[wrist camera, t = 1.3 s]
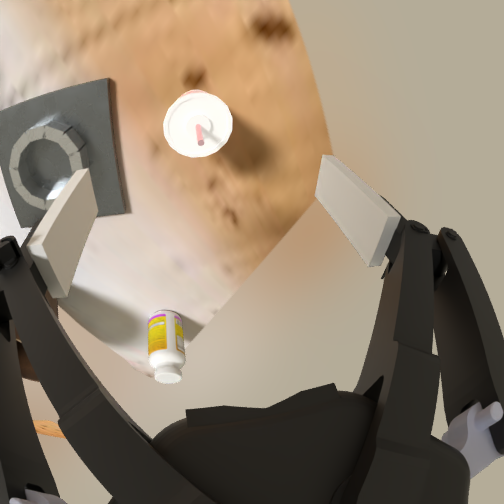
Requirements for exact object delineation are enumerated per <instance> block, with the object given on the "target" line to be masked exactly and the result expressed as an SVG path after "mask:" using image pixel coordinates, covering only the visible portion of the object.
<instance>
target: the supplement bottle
mask: <svg viewBox="0 0 504 504" xmlns="http://www.w3.org/2000/svg"><path fill="white" fill-rule="evenodd" d="M148 352H149V363H150V365H151V366H152V367H153V368H154V369H156V370H155V379H156V380H157V381H158V382H161V383H166V384H171V383H177V382H179V381H181V379H182V372H181V370H180V369H181V368H182V367H183V366H184V364H185V361H186V359H185V349H184V339H183V327H182V320H181V318H180V316H179V315H178V314H176V313H174V312H172V311H166V310H162V311H157V312H155V313H153V314H152V315H151V316H150V317H149V321H148Z"/></svg>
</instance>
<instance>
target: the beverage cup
mask: <svg viewBox="0 0 504 504" xmlns="http://www.w3.org/2000/svg"><path fill="white" fill-rule="evenodd" d="M163 124H164V136H165V138H166V140H167V141H168V143H169V145H170V147H172V148H173V149H174V150H176V151H177V152H178V153H179V154H182V155H185V156H189V157H192V158H193V157H205V156H208V155H210V154H212V153H214V152H217V151H218V150H219V149H220V148H221V147H222V146H223V145H224V144H225V143H226V142H227V141H228V138H229V136H230V134H231V132H232V116H231V113H230V111H229V109H228V106H227V105H226V104H225V103H224V102H222V101H221V100H220V99H219V98H218V97H217V96H214V95H211V94H208V93H207V92H205V91H201V90H190V91H188V92H186V93H184V94H183V95H182V96H181V97H180V98H179V99H177V100H176V102H175V103H174V104H173V105H172V106H171V107H170V108H169V109H168V111H167V114H166V117H165V120H164V122H163Z"/></svg>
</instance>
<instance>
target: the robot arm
mask: <svg viewBox="0 0 504 504" xmlns="http://www.w3.org/2000/svg"><path fill="white" fill-rule="evenodd" d="M315 197H316V198H317V199H318V200H319V202H320V203H321V204H322V205H323V207H324V208H325V209H326V210H327V212H328V213H329V214H330V216H331V217H332V218H333V220H334V221H335V222H336V223H337V225H338V226H339V228H340V229H341V230H342V231H343V233H344V234H345V235H346V237H347V238H348V240H349V241H350V242H351V244H352V245H353V246H354V248H355V249H356V251H357V252H358V253H359V255H360V256H361V258H362V259H363V260H364V262H365V263H366V265H367V266H368V267H373V266H380V265H381V264H382V261H383V259H384V257H385V255H386V256H387V258H388V259H389V263H388V265H387V267H386V269H385V271H384V273H383V276H382V277H381V279H383V278H384V277H385V278H384V284H383V289H382V294H381V299H380V304H379V308H378V313H377V317H376V321H375V325H374V329H373V334H372V337H371V341H370V345H369V348H368V352H367V355H366V359H365V362H364V366H363V369H362V372H361V375H360V378H359V381H358V384H357V386H356V388H355V389H354V391H353V392H348V391H337V389H336V386H335V384H334V383H331V384H327V385H324V386H320V387H316V388H312V389H308V390H305V391H301V392H299V393H297V394H295V395H293V396H291V397H289V398H287V399H285V400H283V401H281V402H279V403H277V404H275V405H273V406H270V407H268V408H247V407H234V406H216V407H208V408H198V409H187V410H186V418H184V419H182V420H179V421H177V422H175V423H172V424H171V425H169V426H168V427H166V428H164V429H163V430H162V431H161V432H159V433H158V434H157V435H156V436H155V437H154V438H153V439H152V438H150V437H149V436H148V435H147V434H146V433H145V432H144V431H143V430H142V429H141V428H140V427H139V426H138V425H137V424H136V423H135V422H134V421H133V420H132V419H131V418H130V416H129V415H128V414H127V413H126V412H125V411H124V410H123V409H122V408H121V406H120V405H119V404H118V403H117V402H116V401H115V399H114V398H113V397H112V396H111V395H110V393H109V392H108V391H107V390H106V388H105V387H104V386H103V385H102V384H101V382H100V381H99V379H98V378H97V377H96V376H95V374H94V373H93V371H92V370H91V369H90V367H89V366H88V365H87V363H86V362H85V360H84V359H83V358H82V356H81V355H80V353H79V352H78V350H77V349H76V347H75V346H74V344H73V343H72V341H71V340H70V338H69V337H68V335H67V333H66V332H65V330H64V329H63V327H62V325H61V323H60V322H59V320H58V318H57V317H56V315H55V313H54V311H53V310H52V308H51V306H50V304H49V302H48V301H47V299H46V297H45V294H46V291H47V289H48V291H49V292H50V294H51V296H52V298H67V297H68V293H69V290H70V287H71V283H72V280H73V277H74V274H75V271H76V268H77V265H78V262H79V259H80V256H81V254H82V251H83V248H84V246H85V243H86V240H87V238H88V235H89V233H90V230H91V228H92V225H93V223H94V220H95V218H96V216H97V213H98V208H97V204H96V199H95V195H94V191H93V186H92V182H91V177H90V172H89V168H87V169H81V170H77V171H76V172H75V173H74V175H73V176H72V177H71V179H70V180H69V181H68V183H67V184H66V185H65V187H64V188H63V189H62V191H61V192H60V194H59V195H58V196H57V198H56V199H55V201H54V202H53V204H52V205H51V207H50V208H49V210H48V211H47V213H46V214H45V216H44V217H41V218H40V219H39V220H38V221H37V222H36V223H35V224H34V226H33V227H32V229H31V232H29V234H28V236H27V238H26V239H25V241H24V242H23V244H22V246H21V248H20V247H19V245H18V243H17V241H16V238H15V237H14V236H7V237H4V238H2V239H1V240H0V504H67V503H66V502H65V501H64V500H63V499H61V498H60V495H59V493H58V490H57V487H56V484H55V481H54V478H53V476H52V473H51V471H50V468H49V465H48V463H47V460H46V458H45V455H44V453H43V450H42V448H41V445H40V442H39V439H38V436H37V433H36V430H35V427H34V424H33V420H32V417H31V414H30V410H29V406H28V403H27V398H26V394H25V390H24V386H23V381H22V376H21V370H20V365H19V358H18V352H17V344H16V336H15V327H16V330H17V332H18V335H19V337H20V340H21V342H22V345H23V347H24V349H25V352H26V354H27V356H28V358H29V361H30V363H31V365H32V367H33V369H34V371H35V373H36V375H37V377H38V379H39V381H40V383H41V385H42V387H43V389H44V390H45V392H46V394H47V396H48V398H49V400H50V401H51V403H52V405H53V406H54V408H55V410H56V411H57V413H58V415H59V418H60V419H59V420H58V425H59V427H60V429H61V431H62V433H63V434H64V436H65V437H66V439H67V440H68V442H69V443H70V444H71V446H72V447H73V448H74V450H75V451H76V453H77V454H78V456H79V457H80V458H81V460H82V461H83V462H84V463H85V465H86V466H87V467H88V469H89V470H90V471H91V472H92V473H93V475H94V476H95V477H96V478H97V479H98V480H99V482H100V483H101V484H102V485H103V486H104V487H105V489H106V490H107V491H108V492H109V493H110V494H111V495H112V496H113V497H112V499H111V500H110V502H109V503H108V504H468V495H469V486H470V479H471V478H473V477H474V476H475V475H477V474H478V473H479V472H480V471H482V470H483V469H484V468H486V467H487V466H488V465H490V464H491V463H492V462H493V461H494V460H496V459H498V458H500V457H502V456H504V338H503V335H502V332H501V329H500V326H499V323H498V320H497V317H496V314H495V312H494V309H493V306H492V304H491V301H490V299H489V296H488V293H487V291H486V289H485V287H484V284H483V282H482V279H481V278H480V275H479V273H478V271H477V268H476V267H475V264H474V262H473V260H472V258H471V256H470V254H469V252H468V250H467V248H466V246H465V244H464V242H463V241H462V239H461V237H460V236H459V235H458V234H457V233H456V231H453V229H449V228H445V227H443V228H441V230H440V232H439V234H438V235H433V234H430V232H429V230H428V229H427V227H425V226H424V225H423V224H421V223H419V222H417V221H414V220H408V221H407V220H406V219H405V218H404V217H403V216H402V215H401V214H400V213H399V212H398V211H397V210H396V209H394V207H393V206H392V205H391V204H389V202H388V201H387V200H386V199H385V198H383V197H382V196H380V195H379V194H377V193H376V192H375V191H374V190H373V189H372V188H371V187H370V186H369V185H367V184H366V183H365V182H364V181H363V180H362V179H361V178H360V177H359V176H357V175H356V174H355V173H354V172H353V171H352V170H351V169H349V168H348V167H347V166H346V165H345V164H343V163H342V162H341V161H340V160H339V159H337V158H336V157H335V156H333V155H322V160H321V165H320V171H319V176H318V181H317V187H316V192H315ZM446 271H447V273H446V275H445V272H446ZM14 324H15V325H14ZM433 328H434V333H435V339H436V345H437V351H438V356H437V355H434V354H432V343H433ZM440 372H441V381H442V389H443V390H442V391H443V401H444V410H445V414H446V420H447V424H448V431H447V432H446V433H444V434H443V436H442V441H441V440H439V439H437V438H436V437H434V436H432V435H431V431H432V426H433V420H434V414H435V409H436V402H437V395H438V387H439V378H440Z"/></svg>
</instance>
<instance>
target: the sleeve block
mask: <svg viewBox="0 0 504 504" xmlns="http://www.w3.org/2000/svg"><path fill="white" fill-rule="evenodd" d="M0 166H1V170H2V174H3V177H4V181H5V184H6V187H7V190H8V193H9V196H10V199H11V202H12V205H13V208H14V211H15V213H16V216H17V219H18V221H19V224H20V226H21V228H25V227H31V226H34V224H35V223H36V222H37V221H38V220H39V219H40V218H41V217H44V216H45V214H46V213H47V211H48V210H49V208H50V207H51V205H52V204H53V202H54V201H55V199H56V198H57V196H58V195H59V194H60V192H61V191H62V189H63V188H64V187H65V185H66V184H67V183H68V181H69V180H70V179H71V177H72V176H73V175H74V173H75V172H76V171H77V170H81V169H87V168H89V172H90V177H91V182H92V186H93V191H94V195H95V199H96V204H97V208H98V213H97V216H96V217H98V216H105V215H113V214H122V213H125V210H126V208H125V203H124V198H123V192H122V187H121V181H120V175H119V169H118V162H117V155H116V148H115V140H114V132H113V122H112V112H111V99H110V83H109V78H105V79H100V80H95V81H91V82H86V83H82V84H78V85H74V86H71V87H67V88H63V89H60V90H57V91H53V92H50V93H47V94H44V95H41V96H38V97H35V98H32V99H29V100H27V101H24V102H21V103H19V104H16V105H14V106H11V107H9V108H6V109H4V110H2V111H0Z"/></svg>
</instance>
